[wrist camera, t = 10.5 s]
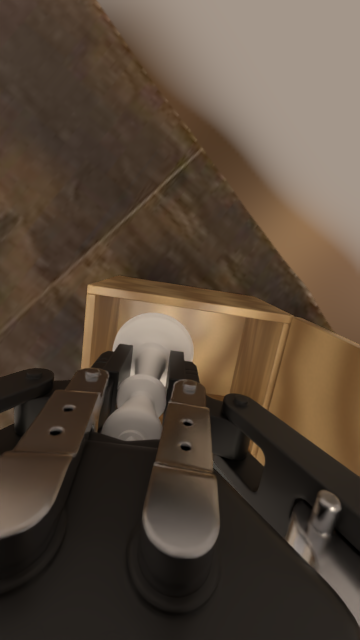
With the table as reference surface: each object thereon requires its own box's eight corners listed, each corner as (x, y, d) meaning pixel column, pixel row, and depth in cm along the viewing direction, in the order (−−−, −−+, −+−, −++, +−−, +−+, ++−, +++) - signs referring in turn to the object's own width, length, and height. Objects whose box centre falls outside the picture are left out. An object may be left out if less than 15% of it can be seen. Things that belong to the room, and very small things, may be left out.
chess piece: (209, 358, 16) (257, 506, 7) (147, 402, 17) (108, 595, 7) (160, 295, 15) (131, 359, 6) (96, 344, 16) (-27, 477, 6)
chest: (107, 382, 38) (75, 439, 26) (117, 275, 35) (87, 284, 23) (231, 399, 39) (256, 461, 27) (254, 296, 36) (294, 316, 24)
